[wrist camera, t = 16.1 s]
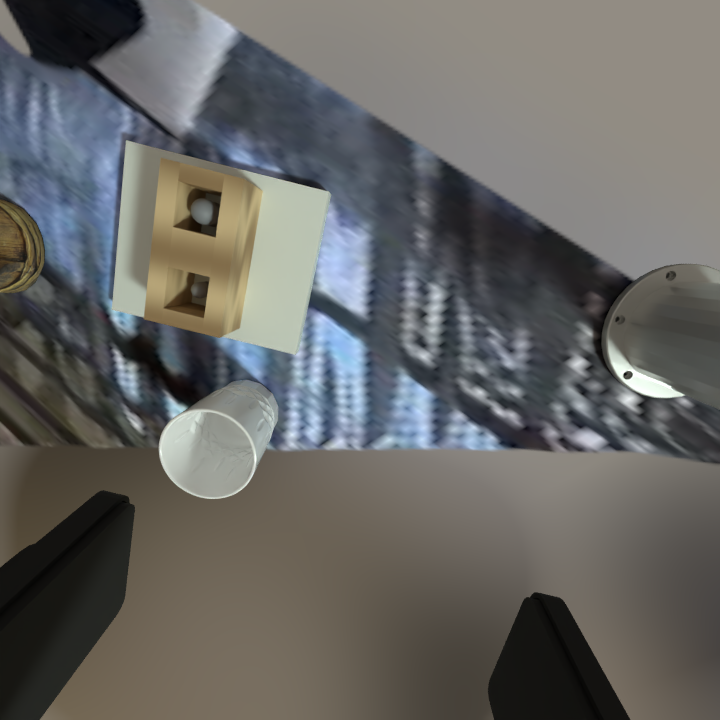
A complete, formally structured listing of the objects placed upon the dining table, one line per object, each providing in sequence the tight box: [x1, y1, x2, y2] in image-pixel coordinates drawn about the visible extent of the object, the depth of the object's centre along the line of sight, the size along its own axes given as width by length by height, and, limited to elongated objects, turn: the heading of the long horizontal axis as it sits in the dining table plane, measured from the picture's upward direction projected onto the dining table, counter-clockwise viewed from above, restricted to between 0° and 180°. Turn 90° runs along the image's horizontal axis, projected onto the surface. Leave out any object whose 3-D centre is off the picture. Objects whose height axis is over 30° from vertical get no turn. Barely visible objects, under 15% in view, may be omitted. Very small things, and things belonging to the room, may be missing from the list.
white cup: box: [159, 380, 278, 499], centre depth 36 cm, size 8×8×10 cm
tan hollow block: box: [144, 158, 263, 338], centre depth 33 cm, size 12×6×5 cm, turn 166°
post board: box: [112, 140, 331, 355], centre depth 34 cm, size 18×15×6 cm
